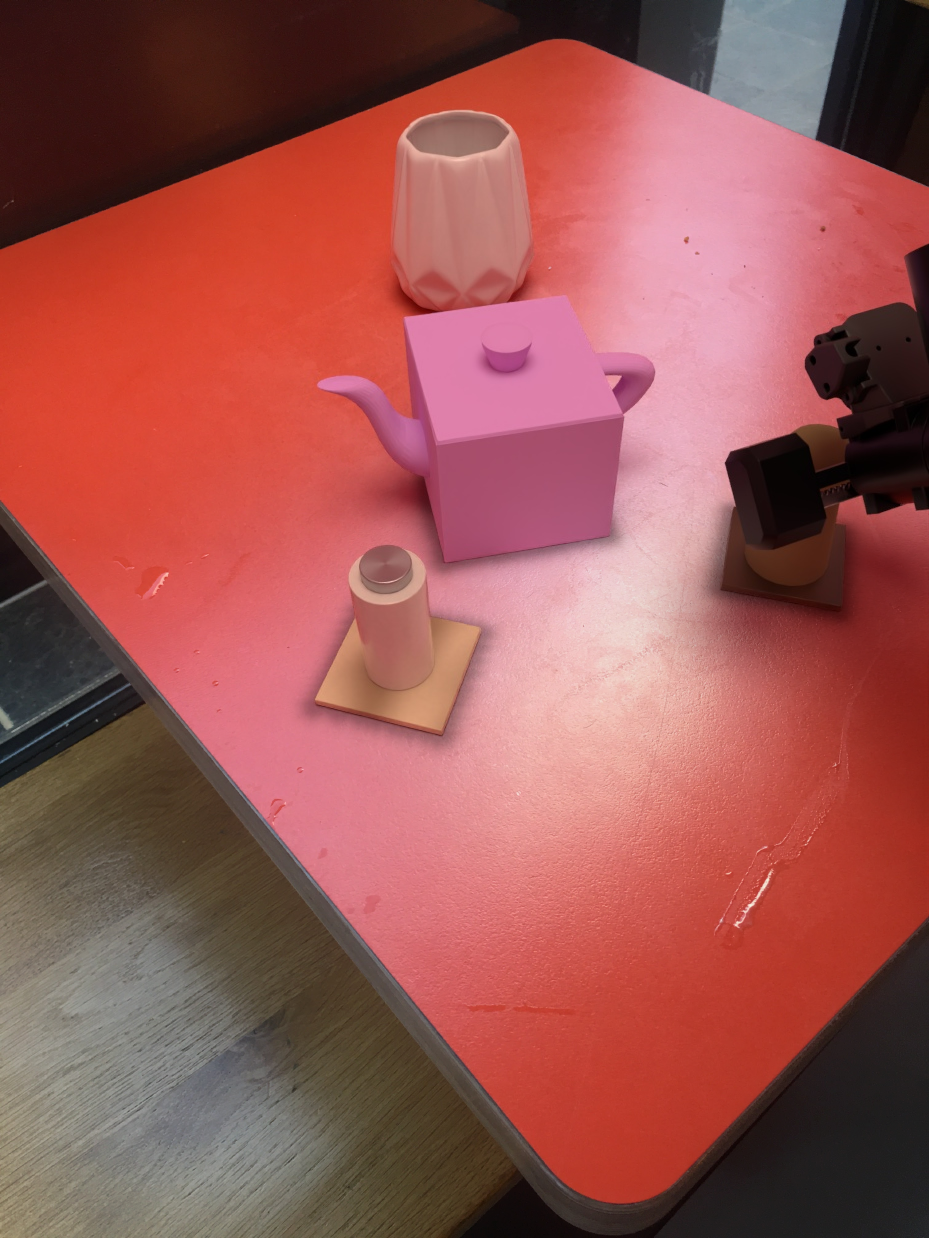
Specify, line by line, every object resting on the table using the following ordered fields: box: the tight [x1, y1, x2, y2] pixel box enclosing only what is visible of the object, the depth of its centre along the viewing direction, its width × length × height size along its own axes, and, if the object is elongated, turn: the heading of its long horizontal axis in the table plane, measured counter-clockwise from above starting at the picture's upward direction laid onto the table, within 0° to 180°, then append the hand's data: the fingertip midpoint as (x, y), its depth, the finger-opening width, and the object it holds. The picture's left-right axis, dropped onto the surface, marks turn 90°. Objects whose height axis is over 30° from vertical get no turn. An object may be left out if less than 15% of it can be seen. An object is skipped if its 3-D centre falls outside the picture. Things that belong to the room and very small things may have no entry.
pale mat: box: [314, 615, 482, 736], centre depth 64 cm, size 9×9×1 cm
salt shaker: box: [347, 544, 435, 690], centre depth 60 cm, size 5×5×10 cm
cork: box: [744, 423, 850, 586], centre depth 65 cm, size 6×6×11 cm
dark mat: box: [720, 506, 847, 612], centre depth 69 cm, size 8×8×1 cm
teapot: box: [316, 294, 656, 564], centre depth 70 cm, size 15×25×14 cm, turn 101°
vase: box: [390, 109, 535, 313], centre depth 89 cm, size 14×14×15 cm
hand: (795, 473), depth 65 cm, fingers open, 8 cm apart
